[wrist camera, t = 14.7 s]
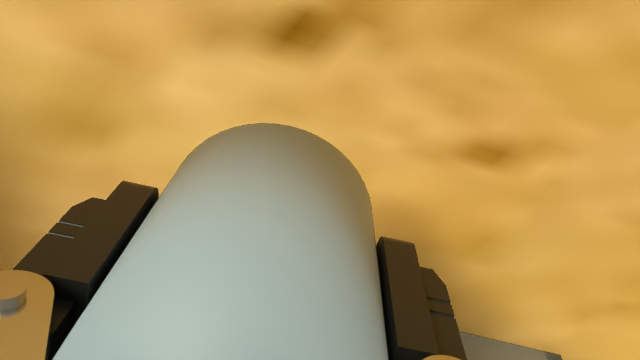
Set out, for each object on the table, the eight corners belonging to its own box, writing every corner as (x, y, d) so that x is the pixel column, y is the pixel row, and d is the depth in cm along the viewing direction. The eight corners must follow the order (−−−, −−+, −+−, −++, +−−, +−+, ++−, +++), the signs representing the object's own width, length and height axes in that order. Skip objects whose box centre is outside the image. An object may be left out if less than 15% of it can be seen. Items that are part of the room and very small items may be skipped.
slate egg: (180, 101, 12) (6, 292, 6) (397, 150, 12) (456, 382, 6) (158, 281, 14) (12, 567, 8) (344, 319, 15) (347, 623, 8)
